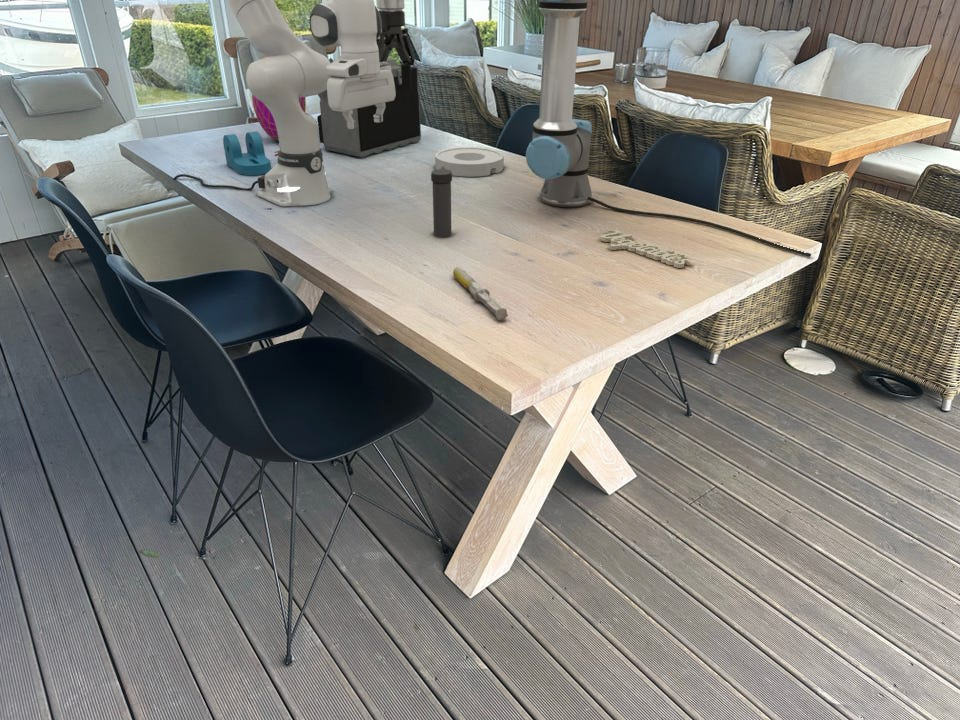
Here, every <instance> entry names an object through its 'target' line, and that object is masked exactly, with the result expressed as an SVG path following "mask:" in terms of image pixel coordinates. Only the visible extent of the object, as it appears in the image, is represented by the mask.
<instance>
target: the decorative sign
mask: <svg viewBox="0 0 960 720" xmlns="http://www.w3.org/2000/svg"><path fill="white" fill-rule="evenodd" d="M600 241H602V242H605V243H609V244H610V245H609V250H610V251H617V250H618V251H619V250H627V251H628V252H634V253H635V254H637V255H640V256H645V257H647V258H649V259H653V260H654V261H660V262H661V263H663V264H666V265H668V266H673V267H674V268H677V269H684V267H685V265H686V266H687V267H688V266H691V259H688V258H685V253H683V252H676V253H675V250H674V249H663V250H660V248H659V246H657V245H656V244H651V243H649V242H643V243H641V242H637V241H633V235H632V234H621V231H620V230H617V229H607V232H606V233H604V234H601V236H600Z"/></svg>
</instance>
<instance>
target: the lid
mask: <svg viewBox="0 0 960 720" xmlns="http://www.w3.org/2000/svg"><path fill="white" fill-rule="evenodd" d="M430 180H431V182H434V183H441V184H442V183H449V182H451V183H452V181H453V175H452V172H451V171H450V170H445V169H438V170H436V169H433V170H431V171H430Z"/></svg>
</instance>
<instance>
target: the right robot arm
mask: <svg viewBox="0 0 960 720" xmlns="http://www.w3.org/2000/svg"><path fill="white" fill-rule="evenodd" d="M375 2H376V8H377V9H378V11H379V13H380V15H381V19H382V30H381V33H380V35H379V37H378V39H377V40H376V41H377V46H378V49H379V62H382V61H387V59H389V55H390V52H391V51H393V49H395V50H396V52H397V55H398V57H399V59H400V61H401V63H402V65H401V74H402V89H404V90H411V67H412V66H414V65H415V61H416V58H415V55H414V51H413V47H412V44H411V41H410V40H411V39H410V36H409V29H408V27H404V26H405V25H406V13H405V11H404V9H405V7H406V6H405V0H375ZM587 8H588V0H538V10H539V11H540V12H541V13H542V15H543V17H544V22H543V38H542V39H543V40H542V58H541V59H542V61H541V77H540V97H539V99H540V100H539V115H538V116H539V117H538V118H537V119H536V120H535V121H534V122H533V125H532V137H531V139H532V140H531V141H530V142H529V143H528V146H527V148H526V151H525V160H526V161H525V162H526V164H527V166H528V169H530V171H531V172H532V173H533V174H534V175H535V176H536V177H538V178H541V179H543V182H542V187H541V189H540V192H539V200H540V202H542V203H543V204H546V205H549V206H553V207H558V208H559V207H560V208H580V207H584V206H588V205H589V204H591V203H593V202H594V203H596V204H598V205H600V206H602V207H605V208H607V209H609V210H613V211H616V212H621V213H628V214H634V215H640V216H641V215H642V216H651V217H661V218H668V219H669V218H670V219H676V220H682V221H687V222H692V223H698V224H702V225H706V226H710V227H714V228H718V229H721V230H724V231H728V232H731V233H734V234H737V235H739V236H743V237H746V238H749V239H751V240H754V241H757V242H760V243H762V244H765V245H768V246H771V247H774V248H777V249H780V250H783V251H786V252H787V251H788V252H790V253H795V254H798V255H802V256H805V257H808V258H811V256H812V253H810V252H807V251H803V252H801V251H802V250H800V251H797V250H798V249H796V250H794V249H795V248H793V249H790V248H791V247H789V248H787V247H788V246H786V247H783V246H784V245H782V246H780V245H781V244H779V245H777V244H778V243H776V242H773V241H769V240H767V239H763V238H762V237H759V236H755V235H753V234H750V233H747V232H743V231H741V230H738V229H735V228H731V227H728V226H725V225H722V224H718V223H714V222H710V221H706V220H703V219H699V218H693V217H688V216H682V215H675V214H669V213H661V212H651V211H650V212H649V211H641V210H635V209H627V208H621V207H620V208H619V207H616V206H613V205H609V204H608V203H605V202H603V201H601V200H598V199H596V198H594V197H593V193H592V188H591V184H590V179H589V165H590V153H591V142H592V136H593V135H592V134H593V132H592V130H593V129H592V127H593V126H592V123H591V122H590V121H589V120H585V119H579V118H573V113H574V97H575V87H576V86H575V85H576V70H577V58H578V47H579V46H578V44H579V34H580V33H579V31H580V18H581V17H582V15H583V14H584V13H585V12H586V11H587ZM380 67H381V66H380ZM759 238H760V239H759ZM774 243H775V244H774ZM804 252H806V253H804Z"/></svg>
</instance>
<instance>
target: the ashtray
mask: <svg viewBox="0 0 960 720" xmlns="http://www.w3.org/2000/svg"><path fill="white" fill-rule="evenodd" d="M504 157H505V156H504V154H503V152H501V151H498V150H495V149H492V148H486V147H473V146H459V147H450V148H445V149H442V150H439V151H438V152H436V153H435V154H434V162H435V163H434V165H435V166H434V167H435V170H438V169H445V170H450V171H451V172H452V177H464V178H465V177H467V178H468V177H469V178H471V177H472V178H473V177H477V178H478V177H487V176H491V174H499V173H501V172H502V171H504V163H505V162H504V161H505V160H504V159H505V158H504Z"/></svg>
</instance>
